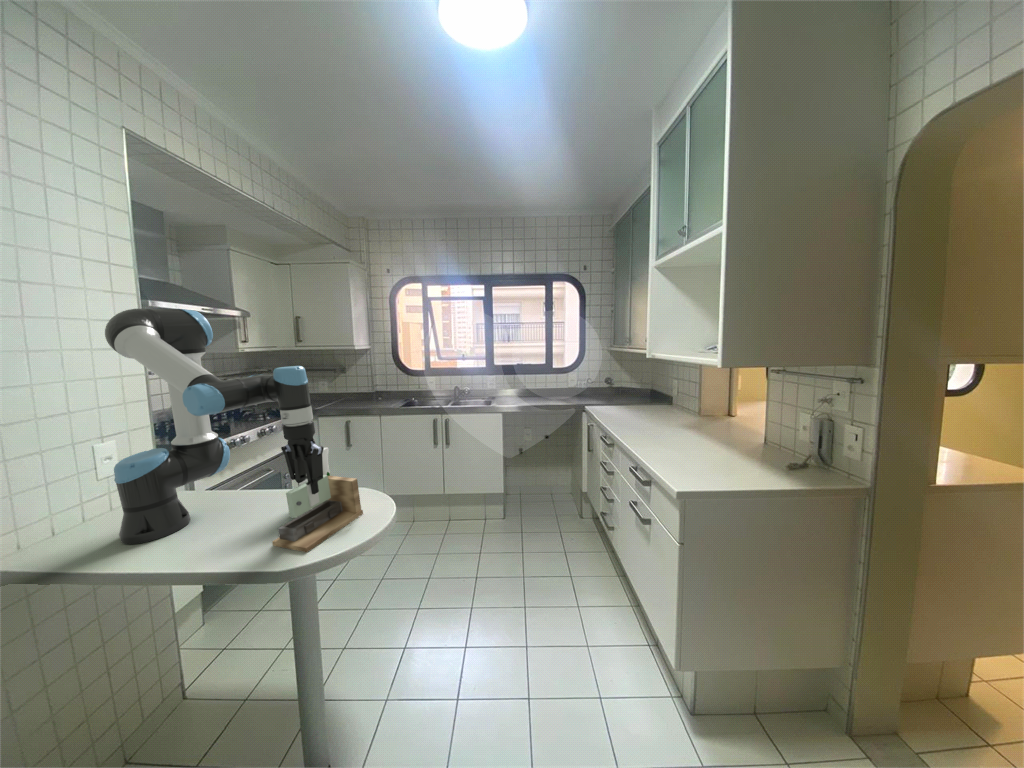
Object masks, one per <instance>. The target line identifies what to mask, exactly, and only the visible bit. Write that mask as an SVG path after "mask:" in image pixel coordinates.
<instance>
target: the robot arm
mask: <svg viewBox="0 0 1024 768" xmlns="http://www.w3.org/2000/svg"><path fill="white" fill-rule="evenodd" d="M104 336H105V340H106V343H107V345H109V347H110V348H112V350H113V351H115V352H116V353H118V354H119V355H121V356H122V357H124V358H128V359H134V360H135V361H136V362H138V363H140V365H142V366H144V368H146V369H148V370H149V371H150V372H152V373H153V374H154V375H156V376H157V377H159V378H160V379H162V380H163V381H165V382H166V383H167V388H168V394H169V399H170V405H171V413H172V416H173V423H174V429H175V435H176V436H174V438H173V439H172V440H171V442H170V444H171V445H170V447H171V449H170V450H168V449H167V448H163V447H157V448H151V449H149V450H144V451H141V452H138V453H134V454H131V455H130V456H127V457H125V458H123V459H121V460H119V461H118V462H117V463H115V465H114V467H113V472H114V473H113V475H114V483H115V486H116V489H117V492H118V493H117V494H118V497H119V500H120V504H121V507H122V512H123V514H122V520H121V525H120V529H119V539H120V543H122V544H123V545H138V544H143V543H147V542H151V541H155V540H158V539H161V538H165V537H166V536H169V535H172V534H173V533H175V532H178V531H180V530H182V529H183V528H185V527H186V526H187V525H188V524H190V522H191V517H190V513H189V511H188V509H187V508H186V507H185V506H184V504H183V503H182V501H181V500H180V499H179V497H178V493H177V492H178V491H177V489H178V488H180V487H183V486H186V485H188V484H191V483H194V482H197V481H200V480H203V479H205V478H210V477H212V476H214V475H215V474H218V473H220V472H223V471H224V470H225V469H226V468H227V466H228V465H229V462H230V459H231V451H230V447H229V445H227V441H225V439H223V438H221V437H219V434H218V433H217V432H215V431H213V430H212V426H211V420H210V415H216V414H217V415H218V414H219V413H223V412H227V411H232V410H237V409H240V408H245V407H250V406H254V405H258V404H263V403H271V402H272V403H273V402H274V403H275V402H276V403H278V409H279V412H280V419H281V420H280V421H281V424H282V425H283V426H282V432H283V438H284V439H285V440H286V441H287V444H285V445H283V446H281V447H280V449H281V451H282V453H283V456H284V457H285V462H286V465H287V469H288V472H289V476H290V479H291V480H292V481H294V480H295V482H296V483H297V485H298V486H297V487H299V486H301V485H303V484H305V483H306V487H307V493H308V499H309V505H310V506H313V505H315V504H317V503H319V502H320V501H319V495H318V492H319V489H318V481H319V480H321V479H323V461H322V453H323V449H324V448H325V447H324V446H323V445H319V446H318V445H317V444H316V441H315V439H314V436H315V434H316V429H315V422H314V421H313V420H314V414H313V407H312V403H311V396H310V389H309V388H310V387H309V379H308V377H307V376H308V375H307V372H306V368H305V367H304V366H302V365H291V366H290V365H289V366H281V367H276V368H274V369H273V372H272V373H273V374H262V373H261V374H253V375H250V376H249V375H248V376H247V377H241V378H240V377H239V378H234V379H227V380H222V379H220V378H219V377H218V376H216V375H214V374H213V373H211V372H210V371H209V370H207V369H206V368H204V367H203V366H202V357H203V356H205V354H206V353H207V351H206V348H207V347H208V346H209V345H211V344H212V342H213V341H212V340H213V338H214V333H213V329H212V326H211V324H210V322H209V320H208V319H207V318H206V317H205V316H204V314H201V313H200V312H199V311H196V310H192V309H186V308H184V309H183V308H130V309H125V310H122V311H119V312H118V313H116V314H115V315H113V316H112V317H111V318H110V319H109V320H108V322H107V323H106V325H105V328H104ZM306 475H307V476H306ZM305 479H307V480H305Z"/></svg>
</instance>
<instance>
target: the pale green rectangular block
mask: <svg viewBox="0 0 1024 768" xmlns="http://www.w3.org/2000/svg"><path fill="white" fill-rule="evenodd" d="M318 489H319V492H318V495H319V501H320V502H319V503H317V504H315V505H313V506H310V505H309V499H308V493H307V487H306V483H305V484H303V485H301V486H299V487H298V486H297V487H294V488H292V489H291V490H289V491H286V492H285V495H286V501H287V507H288V513H289V514H288V515H289V517H290V518H293V519H295V518H297V517H299V516H300V515H302V514H304V513H306V512H307V511H309V510H311V509H312V508H314V507H316V506H317V505H319V504H321V503H323V502H324V501H326V500H328V499H330V498H331V494H330V488H329V481H328V475H323V479H321V480H319V481H318Z"/></svg>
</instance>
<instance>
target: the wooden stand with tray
mask: <svg viewBox="0 0 1024 768" xmlns="http://www.w3.org/2000/svg"><path fill="white" fill-rule="evenodd" d="M328 481H329V488H330V494H331V498H330V499H328V500H327V501H325V502H323V503H321V504H320V505H318V506H316V507H314V508H313V509H310V510H309V511H307V512H305V513H303V514H302V515H300V516H298V517H296V518H293V519H292V520H290V521H288V522H287V523H284V524H283V525H281V526H280V527H277V531H278V537H277V538H276V539H274V540H272V542H271V543H272V546H274V547H279V548H283V549H288V550H294V551H298V552H303V553H308V552H310V551H311V550H313V549H314V548H315V547H317V546H319V545H320V544H321V543H323V542H324V541H326V540H327V539H329V538H331V536H333V535H335V534H336V533H338V532H339V531H340V530H341V529H344V528H345V527H346V526H348V525H349V524H350V523H352V522H353V521H355V520H356V519H358V518H359V517H361V516H362V515H364V509H362V505H361V498H360V491H359V490H360V489H359V483H358V478H355V477H345V476H336V475H335V476H334V475H330V476H328Z"/></svg>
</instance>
